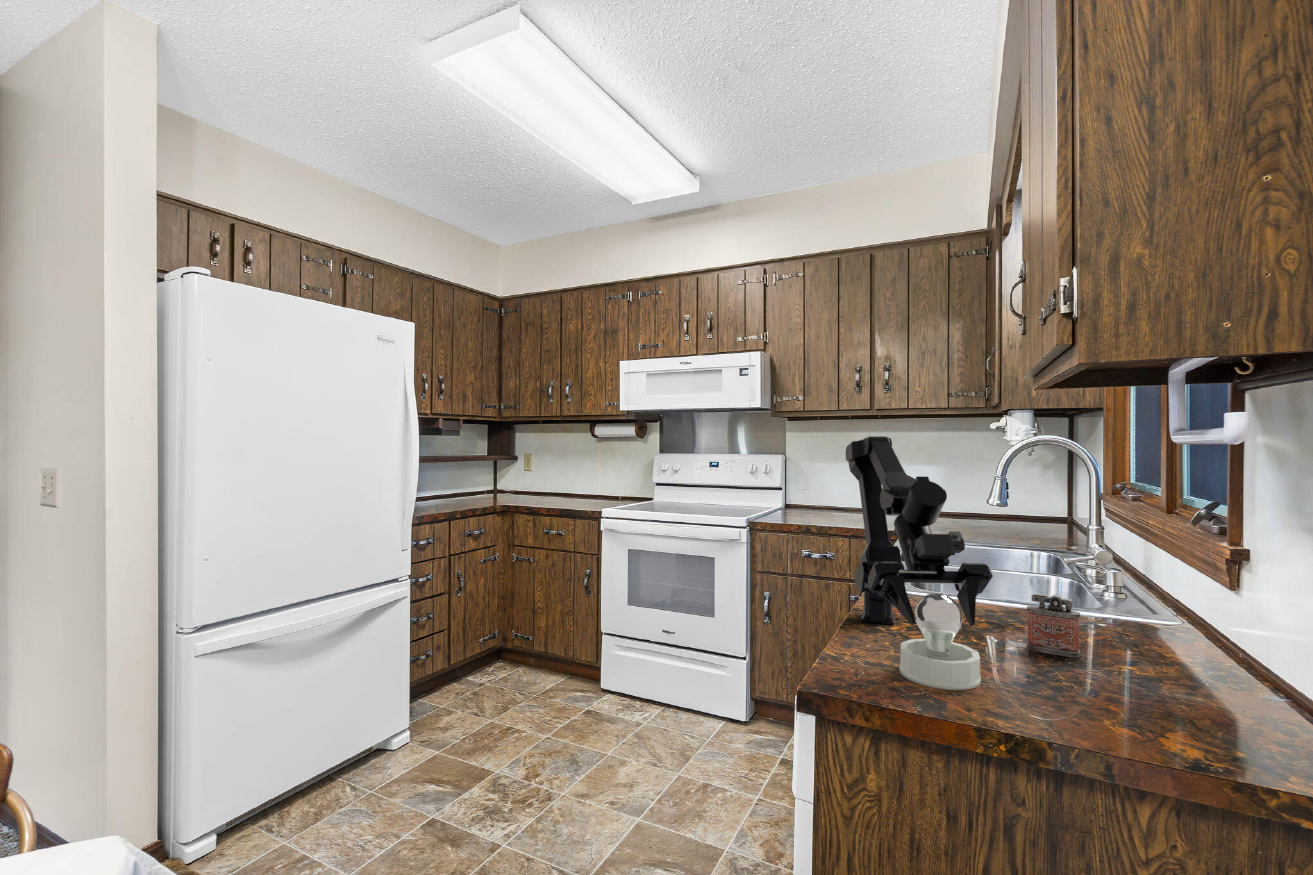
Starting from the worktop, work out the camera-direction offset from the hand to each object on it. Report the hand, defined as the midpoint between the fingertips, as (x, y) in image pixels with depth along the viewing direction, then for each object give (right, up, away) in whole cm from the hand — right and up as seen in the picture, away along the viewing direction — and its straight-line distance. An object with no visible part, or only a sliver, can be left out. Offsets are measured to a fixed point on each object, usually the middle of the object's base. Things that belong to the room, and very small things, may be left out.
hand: (943, 624), depth 99 cm
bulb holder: (0, -9, +1) cm, 9 cm away
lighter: (+26, -9, +13) cm, 30 cm away
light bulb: (0, -8, +2) cm, 8 cm away
